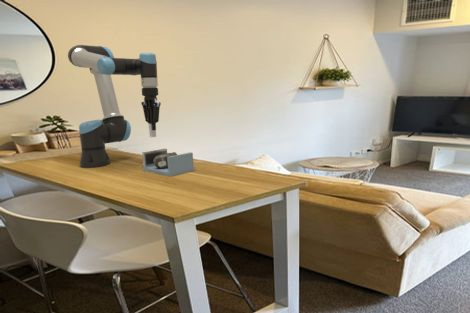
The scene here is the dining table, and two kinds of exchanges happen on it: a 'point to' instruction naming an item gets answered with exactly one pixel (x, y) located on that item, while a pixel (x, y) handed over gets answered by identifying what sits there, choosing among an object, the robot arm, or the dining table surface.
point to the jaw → (152, 156)
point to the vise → (174, 165)
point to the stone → (162, 160)
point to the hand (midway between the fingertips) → (152, 136)
